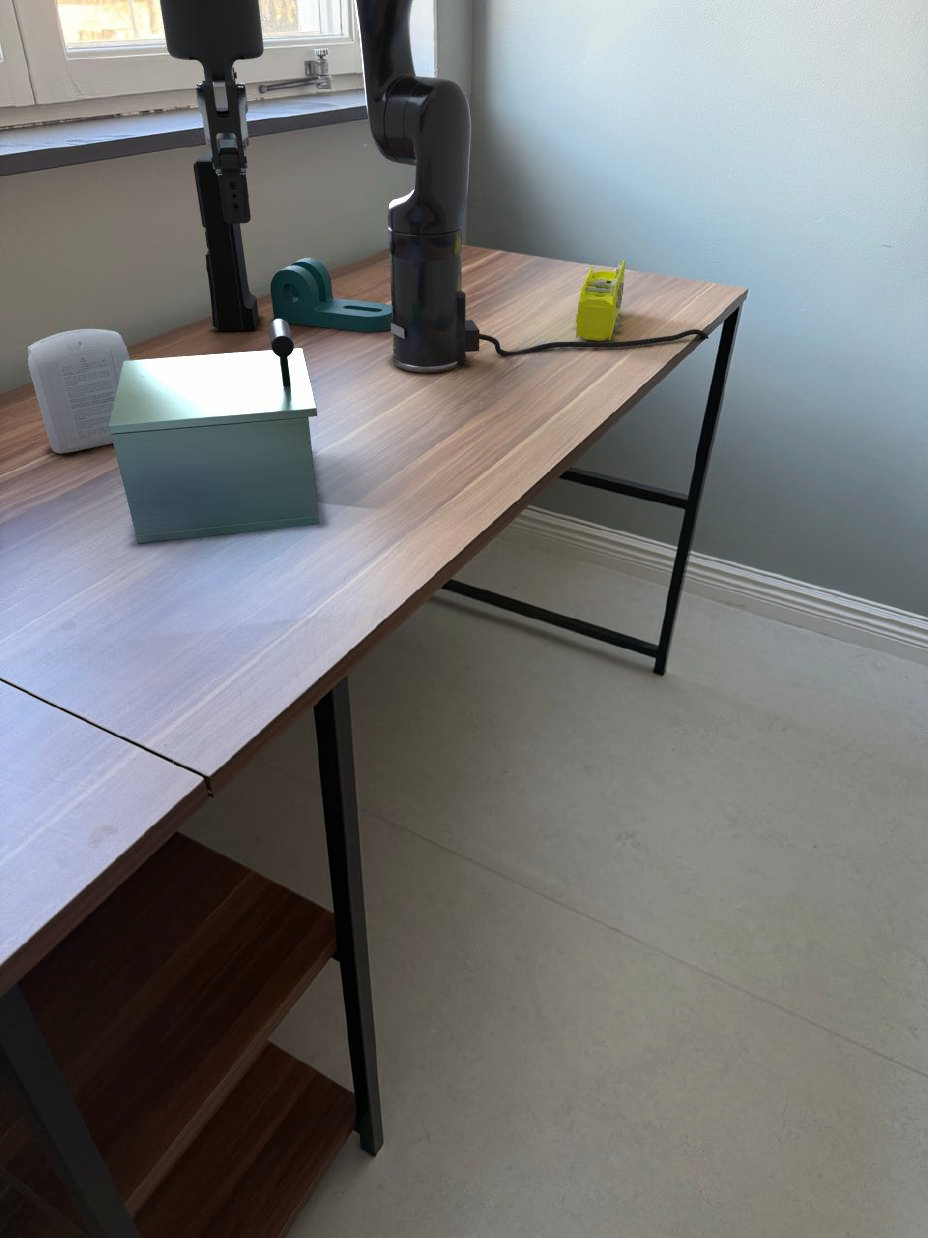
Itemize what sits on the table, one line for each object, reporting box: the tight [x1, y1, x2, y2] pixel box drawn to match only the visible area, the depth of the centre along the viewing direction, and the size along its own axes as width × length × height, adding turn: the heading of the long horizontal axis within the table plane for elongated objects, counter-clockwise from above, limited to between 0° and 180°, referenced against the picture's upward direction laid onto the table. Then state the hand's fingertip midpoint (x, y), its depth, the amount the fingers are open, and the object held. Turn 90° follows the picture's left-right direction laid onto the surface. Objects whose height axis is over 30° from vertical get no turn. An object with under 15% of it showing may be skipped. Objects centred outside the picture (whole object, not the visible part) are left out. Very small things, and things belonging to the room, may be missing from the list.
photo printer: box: [27, 328, 131, 455], centre depth 96 cm, size 10×4×12 cm, turn 123°
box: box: [111, 417, 320, 544], centre depth 87 cm, size 17×16×11 cm
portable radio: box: [193, 152, 260, 332], centre depth 126 cm, size 8×6×25 cm
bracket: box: [269, 257, 392, 333], centre depth 132 cm, size 18×7×8 cm, turn 72°
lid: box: [109, 319, 318, 434], centre depth 82 cm, size 18×16×6 cm
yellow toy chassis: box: [575, 259, 626, 342], centre depth 130 cm, size 16×6×8 cm, turn 167°
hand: (237, 211), depth 78 cm, fingers open, 8 cm apart
